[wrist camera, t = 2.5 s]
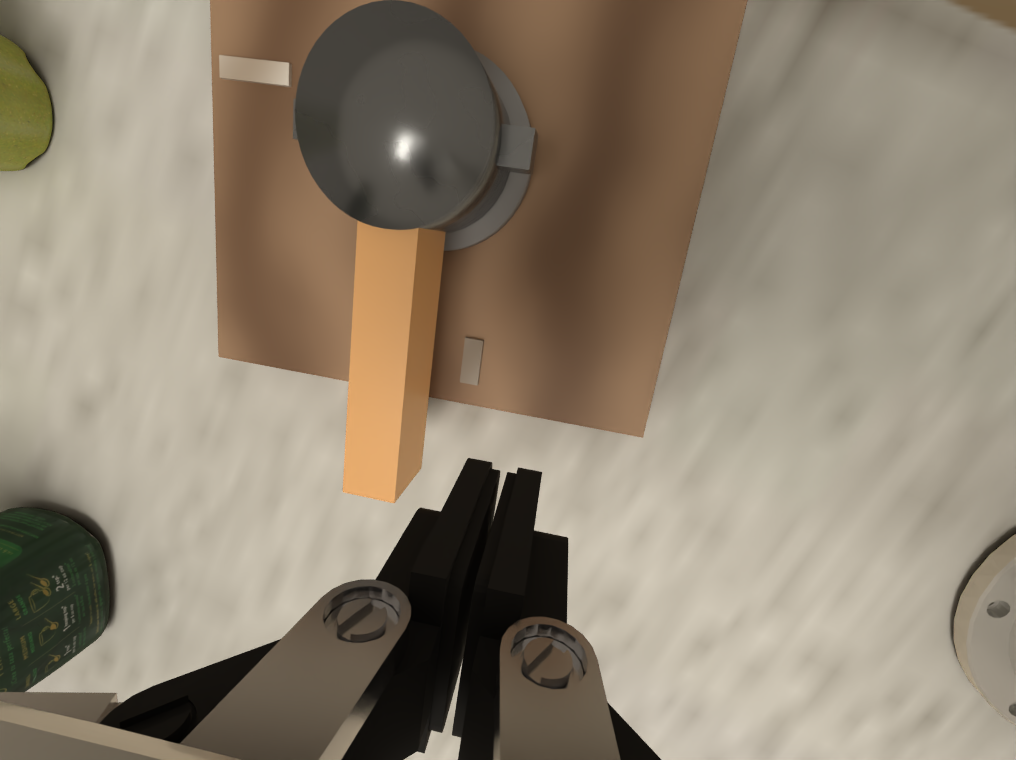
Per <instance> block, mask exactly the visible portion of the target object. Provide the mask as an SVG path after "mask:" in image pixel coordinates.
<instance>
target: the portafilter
mask: <svg viewBox="0 0 1016 760" xmlns="http://www.w3.org/2000/svg"><path fill="white" fill-rule="evenodd" d="M293 139H295V140H297V141H298V142H299V146H300V150H301V153H302V156H303V158H304V161H305V164H306V166H307V168H308V170H309V172H310V174H311V176H312V178H313V179H314V181H315V182H316V184H317V185H318V187H319V188H320V190H321V191H322V192H323V193H324V194H325V195H326V197H327V198H328V199H329V200H330V201H331V202H332V203H333V204H334V205H335V206H337V207H338V208H339V209H340V210H342V211H343V212H344V213H346V214H347V215H349V216H350V217H352V218H354V219H356V220H358V221H357V240H356V258H355V276H354V295H353V313H352V332H351V350H350V368H349V387H348V405H347V424H346V442H345V461H344V479H343V492H345V493H350V494H354V495H359V496H363V497H368V498H373V499H377V500H382V501H386V502H391V503H395V502H396V500H397V499H398V498H399V496H400V495H401V494H402V493H403V491H404V490H405V489H406V487H407V486H408V485H409V483H410V482H411V481H412V480H413V478H414V477H415V476H416V474H417V473H418V472H419V470H420V469H421V466H422V456H423V447H424V437H425V427H426V418H427V408H428V398H429V389H430V379H431V369H432V359H433V350H434V340H435V330H436V321H437V311H438V301H439V292H440V282H441V272H442V263H443V253H444V243H445V234H447V233H452V232H456V231H459V230H461V229H464V228H466V227H468V226H470V225H472V224H474V223H475V222H476V221H478V220H479V219H481V218H482V217H483V216H484V215H485V214H486V213H487V212H488V211H489V210H490V209H491V208H492V207H493V205H494V204H495V203H496V202H497V200H498V198H499V197H500V195H501V194H502V192H503V190H504V187H505V185H506V183H507V180H508V177H509V174H510V172H515V173H522V174H530V175H533V170H534V163H535V156H536V149H537V142H538V133H537V131H536V128H531V127H523V126H515V125H511V123H510V119H509V116H508V113H507V110H506V108H505V106H504V104H503V101H502V100H501V98H500V96H499V94H498V92H497V91H496V89H495V87H494V85H493V83H492V81H491V80H490V78H489V76H488V74H487V72H486V71H485V69H484V67H483V65H482V63H481V61H480V60H479V58H478V56H477V54H476V53H475V51H474V49H473V48H472V46H471V44H470V43H469V42H468V41H467V39H466V38H465V37H464V36H463V34H462V33H461V32H460V31H459V30H458V29H457V28H456V27H455V26H454V25H453V24H452V23H451V22H449V21H448V20H447V19H445V18H444V17H443V16H441V15H440V14H438V13H436V12H434V11H433V10H431V9H429V8H427V7H424V6H421V5H418V4H416V3H412V2H407V1H401V0H382V1H375V2H370V3H367V4H364V5H361V6H358V7H356V8H354V9H352V10H350V11H348V12H346V13H345V14H344V15H342V16H341V17H339V18H338V19H336V20H335V21H334V22H333V23H332V24H331V25H330V26H329V27H328V28H327V29H326V30H325V31H324V32H323V33H322V34H321V36H320V37H319V38H318V39H317V41H316V42H315V44H314V46H313V47H312V49H311V51H310V52H309V54H308V56H307V59H306V61H305V63H304V65H303V68H302V71H301V74H300V78H299V81H298V86H297V92H296V99H293Z"/></svg>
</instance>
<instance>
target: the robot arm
mask: <svg viewBox="0 0 1016 760" xmlns="http://www.w3.org/2000/svg"><path fill="white" fill-rule="evenodd" d="M541 476H542V472H539V471H534V470H529V469H523V468H518V470H517V474H515V473H510V472H507V475H506V479H505V482H504V486H503V489H502V492H501V496H500V499H499V503H498V506H497V509H496V513H495V516H494V511H495V504H496V498H497V491H498V485H499V478H500V471H499V470H494V469H492V462H487V461H482V460H476V459H471V458H468V459H467V461H466V463H465V465H464V467H463V469H462V471H461V473H460V475H459V477H458V479H457V481H456V483H455V485H454V487H453V489H452V491H451V493H450V495H449V497H448V499H447V501H446V503H445V505H444V507H443V509H442V511H441V512H439V511H434V510H430V509H425V508H419V509H418V510H417V511H416V513H415V515H414V516H413V518H412V520H411V521H410V523H409V525H408V526H407V528H406V530H405V531H404V533H403V535H402V536H401V538H400V540H399V541H398V543H397V545H396V546H395V548H394V550H393V551H392V553H391V555H390V556H389V558H388V560H387V561H386V563H385V565H384V566H383V568H382V570H381V572H380V573H379V575H378V577H377V578H376V580H357V581H352V582H348V583H344V584H342V585H340V586H338V587H336V588H334V589H332V590H331V591H329V592H328V593H327V594H325V595H324V596H323V597H322V598H321V599H320V600H319V601H318V602H317V603H316V604H315V605H314V606H313V607H312V608H311V609H310V610H309V611H308V612H307V613H306V614H305V615H304V616H303V617H302V618H301V619H300V620H299V621H298V622H297V623H296V624H295V625H294V627H293V628H292V629H291V630H290V631H289V632H288V633H287V634H286V635H285V636H284V637H283V638H282V639H280V640H277V641H275V642H272V643H269V644H266V645H264V646H261V647H258V648H255V649H253V650H250V651H247V652H245V653H242V654H239V655H236V656H234V657H231V658H228V659H226V660H223V661H220V662H217V663H215V664H212V665H209V666H206V667H204V668H201V669H198V670H196V671H193V672H190V673H187V674H185V675H182V676H179V677H177V678H174V679H171V680H168V681H166V682H163V683H160V684H157V685H155V686H152V687H150V688H148V689H146V690H144V691H142V692H140V693H137V694H135V695H133V696H132V697H130V698H129V699H127V700H126V701H124V702H118V700H117V693H61V692H0V760H403V759H405V758H407V757H408V756H410V755H412V754H413V753H415V752H417V751H418V752H422V753H425V750H426V746H427V743H428V740H429V736H430V733H431V730H433V731H437V732H441V733H442V732H443V729H444V726H445V722H446V719H447V715H448V711H449V708H450V704H451V700H452V697H453V693H454V689H455V685H456V682H457V678H458V674H459V671H460V667H461V663H462V660H463V663H462V669H461V676H460V683H459V690H458V697H457V703H456V710H455V717H454V724H453V731H452V735H453V736H457V737H461V744H460V750H459V757H458V760H661V759H660V758H659V757H658V756H657V755H656V754H655V752H654V751H653V750H652V749H651V748H650V747H649V746H648V745H647V744H646V743H645V742H644V741H643V740H642V739H641V738H640V736H639V735H638V734H637V733H636V732H635V731H634V730H633V729H632V728H631V727H630V726H629V725H628V724H627V723H626V722H625V721H624V719H623V718H622V717H621V716H620V715H619V714H618V713H617V712H616V711H615V710H614V709H613V708H612V707H611V706H610V705H609V703H608V702H607V699H606V694H605V690H604V686H603V681H602V677H601V673H600V668H599V664H598V660H597V657H596V655H595V652H594V650H593V647H592V646H591V644H590V643H589V642H588V640H587V639H586V638H585V637H584V635H583V634H581V633H580V632H579V631H577V630H576V629H575V628H574V627H572V626H571V625H568V624H567V584H568V538H567V537H563V536H558V535H553V534H548V533H543V532H538V531H534V525H535V518H536V511H537V504H538V497H539V490H540V483H541ZM493 517H494V519H493ZM954 644H955V648H956V653H957V657H958V661H959V663H960V665H961V667H962V668H963V670H964V672H965V674H966V676H967V678H968V680H969V681H970V682H971V683H972V684H973V685H974V687H975V688H976V689H977V690H978V691H979V693H980V694H981V695H982V696H983V697H984V698H985V700H986V701H987V702H988V703H989V704H990V705H991V706H992V707H993V708H994V709H995V710H996V711H997V712H998V713H999V714H1000V715H1001V716H1002V717H1004V718H1005V719H1006V720H1008V721H1009V722H1011V723H1013V724H1014V725H1016V534H1015V535H1013V536H1012V537H1011V538H1009V539H1008V540H1007V541H1006V542H1004V543H1003V544H1002V545H1001V546H1000V547H998V548H997V549H996V550H995V551H993V552H992V553H991V554H990V555H989V556H988V557H987V559H986V560H985V561H984V562H983V563H982V564H981V566H980V567H979V568H978V569H977V570H976V571H975V573H974V574H973V575H972V577H971V579H970V580H969V582H968V584H967V586H966V588H965V589H964V591H963V593H962V595H961V597H960V600H959V603H958V607H957V610H956V614H955V617H954Z"/></svg>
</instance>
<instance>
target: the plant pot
mask: <svg viewBox="0 0 1016 760" xmlns="http://www.w3.org/2000/svg"><path fill="white" fill-rule="evenodd" d="M51 132H52V108H51V102H50V98H49V94H48V91H47V88H46V86H45V84H44V83H43V81H42V80H41V79H40V78H39V77H38V75H37V74H36V73H35V71H34V70H33V68H32V67H31V65H30V64H29V62H28V61H27V58H26V55H25V53H24V52H23V51H22V50H21V49H20V48H19V47H18V46H17V45H16V44H14V43H13V42H12V41H10V40H9V39H7V38H5V37H3V36H2V35H0V171H17V170H22V169H24V168H25V166H26V165H27V164H28V163H29V162H30V161H32V160H33V159H35V158H36V157H37V156H39V155H41V154H42V153H44V152H45V150H46V148H47V146H48V144H49V141H50V137H51Z"/></svg>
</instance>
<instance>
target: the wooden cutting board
mask: <svg viewBox="0 0 1016 760" xmlns="http://www.w3.org/2000/svg"><path fill="white" fill-rule="evenodd" d="M375 1H382V0H210V12H211V55H212V97H213V139H214V181H215V224H216V266H217V308H218V350H219V357H223V358H228V359H234V360H239V361H244V362H249V363H255V364H260V365H265V366H270V367H276V368H281V369H286V370H291V371H297V372H302V373H307V374H312V375H318V376H323V377H328V378H333V379H339V380H344V381H349V368H350V350H351V332H352V313H353V295H354V276H355V258H356V240H357V221H358V220H356V219H354V218H352V217H350V216H349V215H347V214H346V213H344V212H343V211H342V210H340V209H339V208H338V207H337V206H335V205H334V204H333V203H332V202H331V201H330V200H329V199H328V198H327V197H326V195H325V194H324V193H323V192H322V191H321V190H320V188H319V187H318V185H317V184H316V182H315V181H314V179H313V178H312V176H311V174H310V172H309V170H308V168H307V166H306V164H305V161H304V158H303V156H302V153H301V150H300V146H299V142H298V141H297V140H295V139H293V99H296V92H297V86H298V81H299V78H300V74H301V71H302V68H303V65H304V63H305V61H306V59H307V56H308V54H309V52H310V51H311V49H312V47H313V46H314V44H315V42H316V41H317V39H318V38H319V37H320V36H321V34H322V33H323V32H324V31H325V30H326V29H327V28H328V27H329V26H330V25H331V24H332V23H333V22H334V21H335V20H336V19H338V18H339V17H341V16H342V15H344V14H345V13H346V12H348V11H350V10H352V9H354V8H356V7H358V6H361V5H364V4H367V3H370V2H375ZM401 1H407V2H412V3H416V4H418V5H421V6H424V7H427V8H429V9H431V10H433V11H434V12H436V13H438V14H440V15H441V16H443V17H444V18H445V19H447V20H448V21H449V22H451V23H452V24H453V25H454V26H455V27H456V28H457V29H458V30H459V31H460V32H461V33H462V34H463V36H464V37H465V38H466V39H467V41H468V42H469V43H470V44H471V46H472V48H473V49H474V51H475V53H476V54H477V56H478V58H479V60H480V61H481V63H482V65H483V67H484V69H485V71H486V72H487V74H488V76H489V78H490V80H491V81H492V83H493V85H494V87H495V89H496V91H497V92H498V94H499V96H500V98H501V100H502V101H503V104H504V106H505V108H506V110H507V113H508V116H509V119H510V123H511V125H515V126H523V127H531V128H536V131H537V133H538V142H537V149H536V156H535V163H534V170H533V175H530V174H522V173H515V172H510V174H509V177H508V180H507V183H506V185H505V187H504V190H503V192H502V194H501V195H500V197H499V198H498V200H497V202H496V203H495V204H494V205H493V207H492V208H491V209H490V210H489V211H488V212H487V213H486V214H485V215H484V216H483V217H482V218H481V219H479V220H478V221H476V222H475V223H474V224H472V225H470V226H468V227H466V228H464V229H461V230H459V231H456V232H452V233H447V234H445V243H444V253H443V263H442V272H441V282H440V292H439V301H438V311H437V321H436V330H435V340H434V350H433V359H432V369H431V379H430V389H429V397H433V398H438V399H443V400H449V401H454V402H459V403H464V404H470V405H475V406H480V407H485V408H491V409H496V410H501V411H506V412H512V413H517V414H522V415H527V416H533V417H538V418H543V419H548V420H554V421H559V422H564V423H569V424H575V425H580V426H585V427H590V428H596V429H601V430H606V431H611V432H617V433H622V434H627V435H632V436H637V437H643V435H644V431H645V426H646V422H647V418H648V414H649V410H650V406H651V401H652V397H653V393H654V389H655V385H656V380H657V376H658V372H659V368H660V364H661V360H662V355H663V351H664V347H665V343H666V339H667V335H668V330H669V326H670V322H671V318H672V314H673V309H674V305H675V301H676V297H677V293H678V289H679V284H680V280H681V276H682V272H683V268H684V263H685V259H686V255H687V251H688V247H689V243H690V238H691V234H692V230H693V226H694V222H695V218H696V213H697V209H698V205H699V201H700V197H701V192H702V188H703V184H704V180H705V176H706V172H707V167H708V163H709V159H710V155H711V151H712V146H713V142H714V138H715V134H716V130H717V126H718V121H719V117H720V113H721V109H722V105H723V101H724V96H725V92H726V88H727V84H728V80H729V75H730V71H731V67H732V63H733V59H734V55H735V50H736V46H737V42H738V38H739V34H740V29H741V25H742V21H743V17H744V13H745V9H746V4H747V0H401Z"/></svg>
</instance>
